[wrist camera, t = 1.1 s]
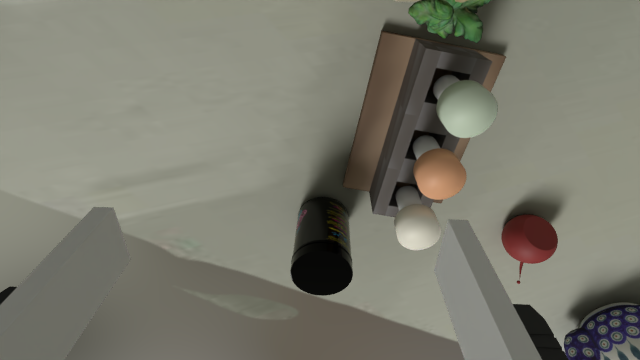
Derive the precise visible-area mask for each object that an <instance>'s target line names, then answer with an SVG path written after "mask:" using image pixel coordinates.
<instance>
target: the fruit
mask: <svg viewBox="0 0 640 360" xmlns="http://www.w3.org/2000/svg"><path fill="white" fill-rule="evenodd" d="M502 243H503V246H504V248H505V250H506V251H507V252H508V253H509V255H511V256H512V257H513V258H515V259H516V260H518V261H521V262H520V275H521V269H522V266H523V263H531V264H533V263H540V262H543V261H545V260H547V259H548V258H550V257H551V256H552V255H553V254H554V252H555V250H556V248H557V244H558V238H557V234H556V231H555V230H554V228H553V227H552V225H551V224H550V223H549V222H547V221H546V220H545V219H543V218H541V217H538V216H535V215H520V216H517V217H514V218H513V219H511V220H510V221H508V222H507V224H506V225H505V227H504V228H503V231H502ZM519 279H520V278H519ZM517 283H518V284H520V281H517Z"/></svg>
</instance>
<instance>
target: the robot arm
mask: <svg viewBox="0 0 640 360" xmlns="http://www.w3.org/2000/svg"><path fill="white" fill-rule="evenodd" d="M130 260H131V258H130V254H129V251H128V249H127V246H126V243H125V240H124V237H123V234H122V231H121V228H120V225H119V222H118V220H117V217H116V214H115V211H114V208H108V207H93V209H92V210H91V211H90V212H89V213H88V214H87V215H86V216H85V217H84V218H83V219H82V220H81V221H80V222H79V223H78V224H77V225H76V226H75V227H74V228H73V230H71V232H70V233H69V234H68V235H67V236H66V237H65V238H64V239H63V240H62V241H61V242H60V243H59V244H58V245H57V246H56V247H55V248H54V249H53V250H52V251H51V252H50V253H49V255H48V256H47V257H46V258H45V259H44V260H43V261H42V262H41V263H40V264H39V265H38V266H37V267H36V268H35V269H34V270H33V271H32V272H31V273H30V274H29V275H28V276H27V278H26V279H25V280H24V281H23V282H22V283H21V284H20V285H19V286H18V287H8V288H7V289H5V290H4V291H2V292H1V293H0V360H64V359H65V358H66V356H67V355H68V353H69V352H70V350H71V349H72V347H73V346H74V344H75V342H76V341H77V340H78V338H79V337H80V335H81V334H82V332H83V331H84V329H85V328H86V326H87V325H88V323H89V322H90V320H91V318H92V317H93V316H94V314H95V313H96V311H97V310H98V308H99V307H100V305H101V304H102V302H103V301H104V299H105V298H106V296H107V295H108V293H109V292H110V290H111V289H112V287H113V285H114V284H115V283H116V281H117V280H118V278H119V277H120V275H121V274H122V272H123V271H124V269H125V268H126V266H127V265H128V263H129V262H130ZM434 271H435V274H436V277H437V280H438V283H439V286H440V288H441V291H442V294H443V297H444V300H445V303H446V306H447V309H448V312H449V315H450V318H451V321H452V324H453V327H454V330H455V333H456V336H457V339H458V342H459V345H460V347H461V350H462V353H463V356H464V359H465V360H569V359H568V357H567V356H566V354H565V352H564V351H562V347H561V346H560V344H559V342H558V341H557V339H556V338H554V334H553V332H552V331H551V329H550V327H549V326H548V324H547V322H546V321H545V319H544V318H543V317H542V316H541V315H540V314H539V313H538V312H537V311H536V310H535V309H533V308H532V307H531V306H530V305H521V304H512V302H511V300H510V299H509V297H508V295H507V293H506V291H505V289H504V287H503V285H502V284H501V282H500V280H499V278H498V276H497V274H496V272H495V270H494V269H493V267H492V265H491V263H490V261H489V259H488V257H487V255H486V254H485V252H484V250H483V248H482V246H481V244H480V242H479V240H478V238H477V237H476V235H475V233H474V231H473V229H472V227H471V225H470V223H469V222H468V220H448V222H447V225H446V229H445V233H444V236H443V240H442V244H441V247H440V251H439V255H438V258H437V262H436V266H435V269H434Z"/></svg>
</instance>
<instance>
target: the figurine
mask: <svg viewBox="0 0 640 360" xmlns="http://www.w3.org/2000/svg"><path fill="white" fill-rule="evenodd" d="M394 1H397V2H415V3H414V4H413V5H412V6H411V7H410V8H409V12H408V13H409V14H410V15H411V16H412V17H413V18H414V19H415V20H416V22H417V23H418V24H424V23H425V24H426V25H427V29H428V31H429V32H431V33H438V35H439V36H441V37H442V38H446V37H447V36H448V34H451V33H453V27H455V35H454V36H456V37H458V36H461V35H463V36H464V38H465V39H469V40H470V41H474V42H476V43H477V42H478V41H480V39H481V36H482V31H483V27H482V26H483V23H482V21H481V20H480V19H479V18H478V16H477V15H476V14H475V13H477V8H478V7H481V6H483V4H487V3H488V2H489V1H491V0H394Z"/></svg>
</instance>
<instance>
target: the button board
mask: <svg viewBox="0 0 640 360" xmlns="http://www.w3.org/2000/svg"><path fill="white" fill-rule="evenodd" d="M505 58H506V56H504V55H502V54H497V53H492V52H487V51H482V50H477V49H472V48H467V47H462V46H457V45H452V44H447V43H442V42H437V41H432V40H427V39H422V38H416V37H411V36H406V35H401V34H396V33H391V32H386V31H381V35H380V39H379V43H378V47H377V50H376V54H375V58H374V62H373V66H372V70H371V74H370V78H369V82H368V86H367V90H366V94H365V98H364V102H363V106H362V110H361V114H360V118H359V122H358V126H357V130H356V134H355V138H354V142H353V146H352V150H351V154H350V157H349V161H348V165H347V169H346V173H345V177H344V181H343V187H345V188H351V189H357V190H363V191H369V193H370V199H371V205H372V211H373V214H379V215H385V216H391V217H396V215H397V213H398V212H399V208H398V205H397V201H396V197H395V195H396V192H397V190H398V189H400V188H401V187H403V186H412V187H414V188H415V189H416V190H417V192H418V195H419V197H420V200H421V203H422V205H426V206H428V207H429V208H431V205H432V203H433V202H436V203H442V201H443V199H441V200H435V199H430V198H428V197H426V196H425V195H423V194H422V193H421V191H420V190H419V187H418V185H417V182H416V179H415V177H414V173H413V168H414V164H415V162H416V161H417V159H416V156H415V154H414V152H413V143H414V141H415V140H416V139H417V138H419V137H421V136H424V135H429V136H432V137H433V138H435V140H436V141H437V143H438V145H439V146H440V148H442V149H447V150H450V151H451V152H453V153H454V154H455V155H456V156H457V158H458V159H459V161H460V160H461V158H462V156H463V154H464V151H465V149H466V147H467V144H468V142H469V140H470V138H471V137H470V138H460V137H456V136H454V135H452V134H451V133H449V132H448V131H447V129H446V128H445V126H444V125H443V124H442V122H441V121H440V119H439V117H438V115H437V110H436V107H437V102H438V100H437V98H436V97H435V96H434V93H433V86H434V84H435V82H436V81H437V80H438V79H439V78H440V77H442V76H444V75H453V76H455V77H456V78H458V79H459V80H460V81H462V80H472V81H475V82H478V83H479V84H481V85H482V86H483V87H484V88H486V89H487V90H488V91H489V92H491V90H492V88H493V86H494V83H495V81H496V79H497V76H498V74H499V72H500V70H501V67H502V65H503V63H504V61H505Z"/></svg>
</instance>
